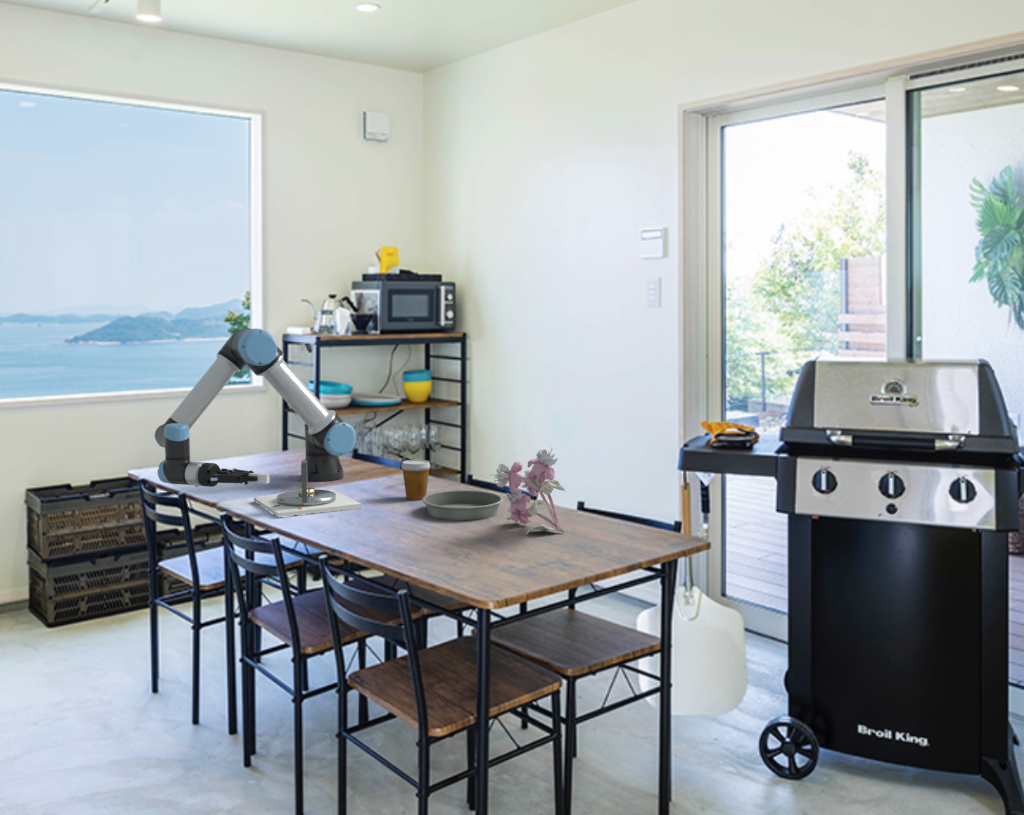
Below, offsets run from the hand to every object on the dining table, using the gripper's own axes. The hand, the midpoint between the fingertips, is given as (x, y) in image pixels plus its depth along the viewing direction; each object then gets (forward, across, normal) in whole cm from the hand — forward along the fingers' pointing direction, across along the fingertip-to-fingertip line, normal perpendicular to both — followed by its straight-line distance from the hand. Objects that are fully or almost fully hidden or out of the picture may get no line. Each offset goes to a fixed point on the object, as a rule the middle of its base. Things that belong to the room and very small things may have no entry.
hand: (267, 478), depth 290 cm
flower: (+84, -1, -9) cm, 85 cm away
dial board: (+9, -7, -9) cm, 15 cm away
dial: (+10, -6, -7) cm, 14 cm away
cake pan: (+59, -14, -10) cm, 62 cm away
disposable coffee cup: (+37, -28, -9) cm, 47 cm away
